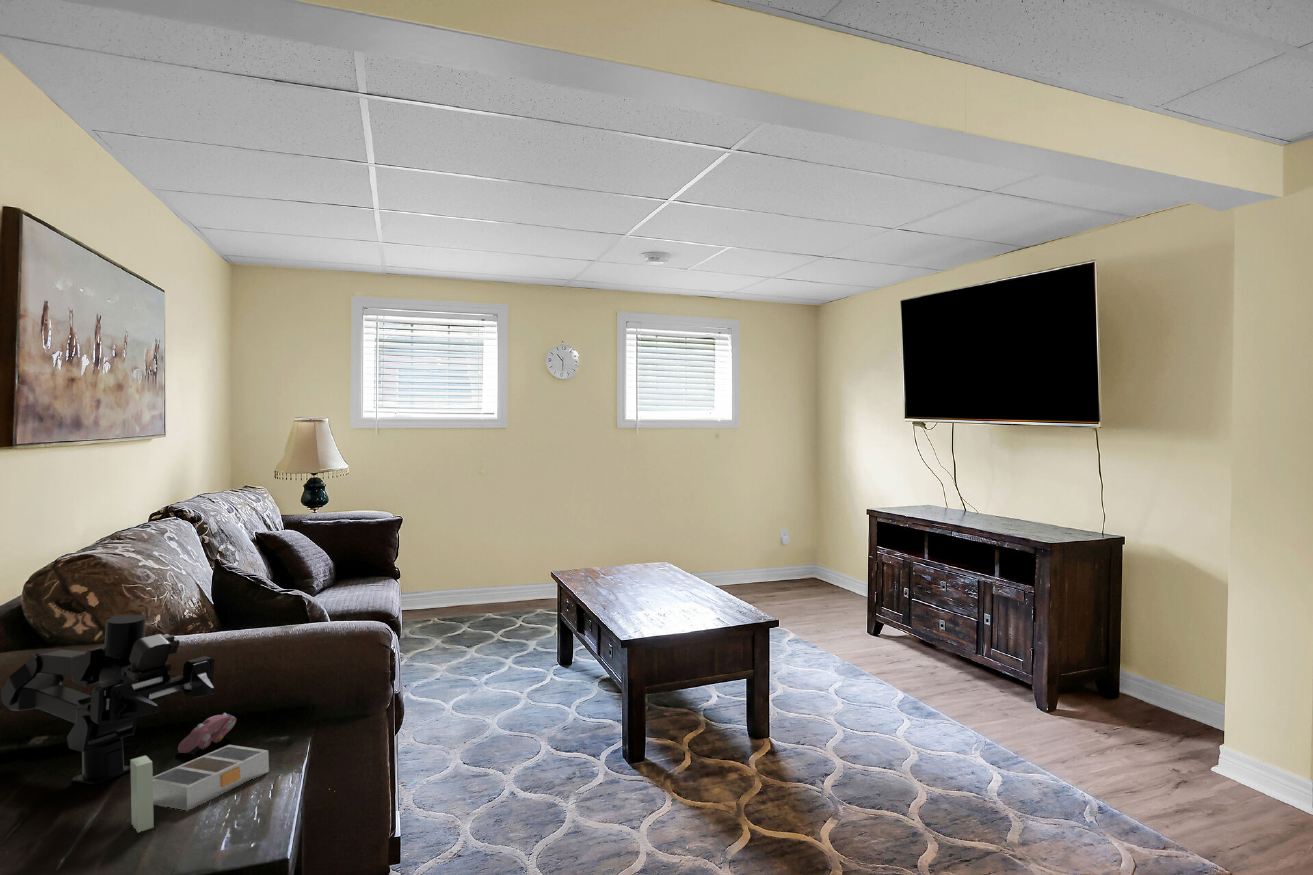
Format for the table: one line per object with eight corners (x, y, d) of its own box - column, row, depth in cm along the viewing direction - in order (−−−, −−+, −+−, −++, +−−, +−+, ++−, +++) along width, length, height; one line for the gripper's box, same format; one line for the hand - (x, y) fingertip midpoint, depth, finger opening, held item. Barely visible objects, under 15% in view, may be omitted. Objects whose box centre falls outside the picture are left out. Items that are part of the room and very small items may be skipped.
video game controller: (191, 763, 136) (204, 731, 136) (173, 752, 137) (186, 720, 137) (231, 743, 146) (244, 713, 145) (214, 732, 147) (227, 702, 146)
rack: (145, 802, 117) (145, 779, 117) (229, 765, 131) (229, 744, 131) (188, 811, 113) (188, 787, 113) (270, 771, 127) (269, 750, 127)
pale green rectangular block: (131, 824, 110) (130, 759, 110) (147, 819, 111) (145, 755, 112) (137, 832, 107) (136, 766, 107) (153, 827, 108) (152, 761, 109)
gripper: (73, 647, 116) (128, 668, 110) (188, 621, 133) (242, 638, 127) (69, 713, 117) (123, 738, 110) (184, 679, 134) (238, 699, 127)
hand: (186, 699), depth 118 cm, fingers open, 9 cm apart
